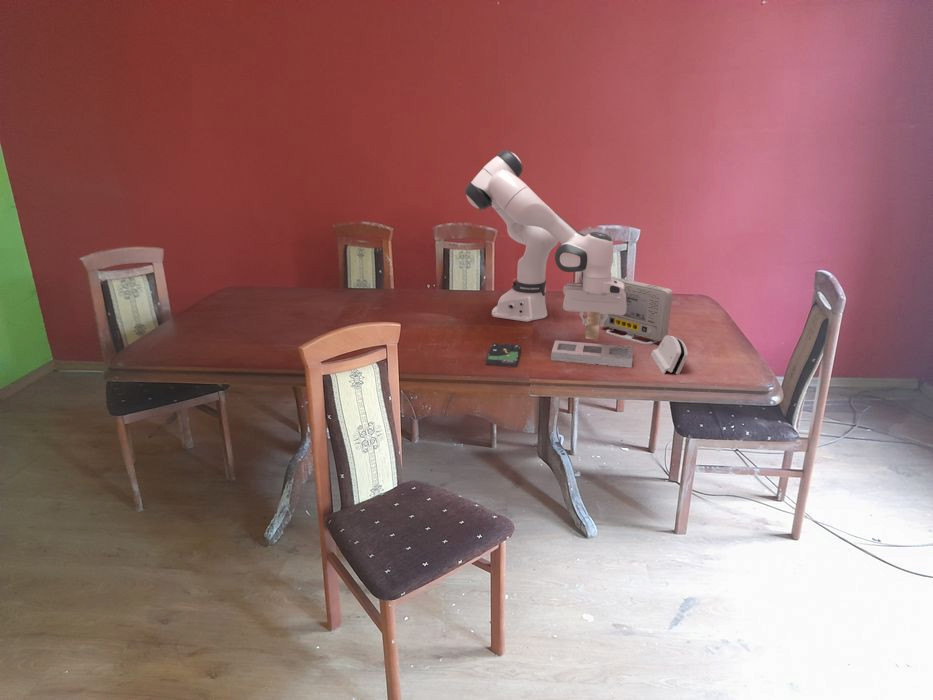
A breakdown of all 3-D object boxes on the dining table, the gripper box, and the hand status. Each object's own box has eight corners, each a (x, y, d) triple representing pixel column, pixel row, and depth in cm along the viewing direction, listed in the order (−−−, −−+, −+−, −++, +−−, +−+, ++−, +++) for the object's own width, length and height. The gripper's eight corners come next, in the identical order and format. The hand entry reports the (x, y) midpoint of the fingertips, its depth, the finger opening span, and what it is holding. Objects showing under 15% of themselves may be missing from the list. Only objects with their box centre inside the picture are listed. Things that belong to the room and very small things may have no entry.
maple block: (585, 338, 196) (587, 312, 193) (586, 334, 200) (588, 308, 197) (597, 339, 196) (600, 313, 192) (598, 335, 199) (600, 309, 196)
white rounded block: (650, 354, 204) (663, 328, 200) (663, 358, 204) (676, 333, 200) (663, 374, 188) (677, 346, 184) (676, 379, 189) (691, 351, 185)
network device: (669, 342, 214) (676, 288, 206) (657, 348, 208) (664, 293, 201) (608, 325, 231) (612, 274, 223) (595, 330, 225) (599, 279, 218)
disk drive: (491, 350, 209) (485, 366, 195) (491, 342, 208) (485, 358, 194) (520, 351, 208) (517, 368, 194) (521, 344, 207) (517, 360, 193)
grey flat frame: (551, 360, 199) (551, 351, 198) (554, 348, 209) (555, 340, 208) (631, 367, 193) (632, 359, 192) (631, 355, 203) (632, 346, 202)
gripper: (562, 284, 191) (560, 325, 196) (628, 289, 186) (624, 330, 191) (564, 279, 196) (562, 319, 202) (629, 283, 192) (624, 324, 197)
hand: (593, 325), depth 196 cm, fingers closed on maple block, 4 cm apart
